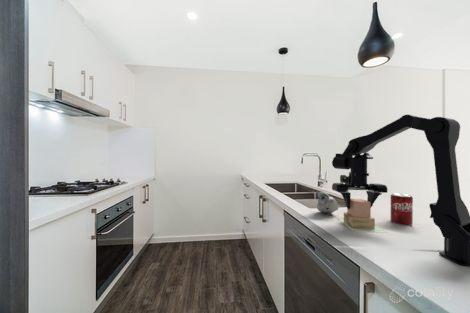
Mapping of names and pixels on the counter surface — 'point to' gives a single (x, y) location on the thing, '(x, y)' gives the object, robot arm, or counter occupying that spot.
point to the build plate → (377, 229)
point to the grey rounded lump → (326, 203)
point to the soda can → (401, 209)
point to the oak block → (359, 222)
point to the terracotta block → (359, 208)
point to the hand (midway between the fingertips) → (358, 209)
